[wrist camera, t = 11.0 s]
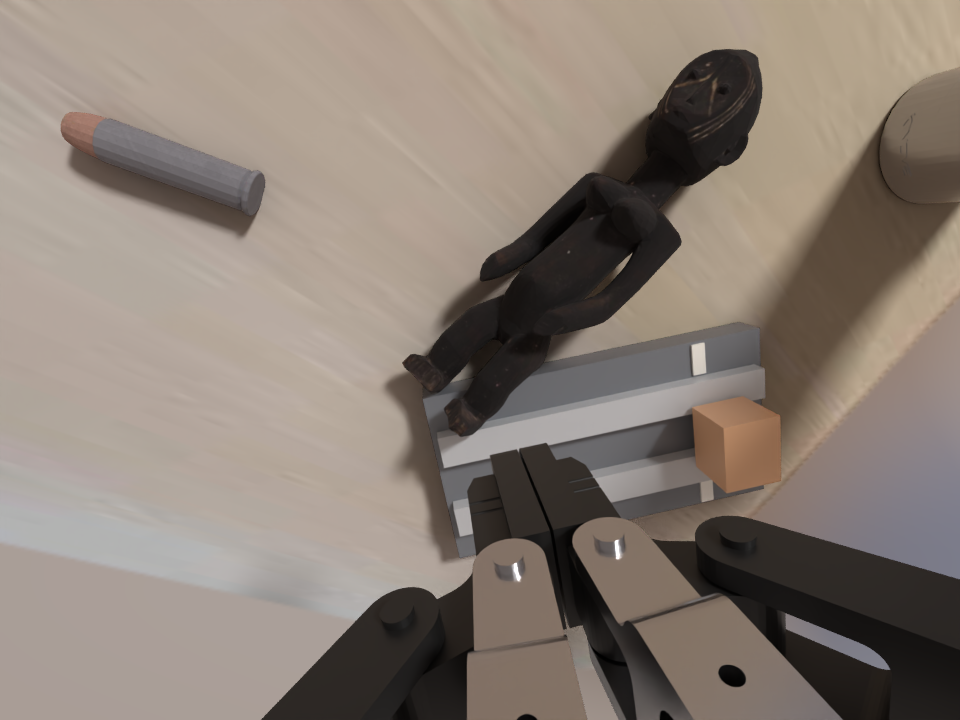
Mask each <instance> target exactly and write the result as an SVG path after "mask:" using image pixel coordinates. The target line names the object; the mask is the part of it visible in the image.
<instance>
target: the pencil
mask: <svg viewBox="0 0 960 720" xmlns="http://www.w3.org/2000/svg"><path fill="white" fill-rule="evenodd" d="M61 133H62V136H63V137H64V139H65V140H66V141H67V142H69V143H70V144H71V145H73V146H74V147H76V148H78V149H79V150H81V151H83V152H85V153H87V154H89V155H91V156H93V157H96V158H98V159H100V160H101V161H103V162H106V163H108V164H111V165H114V166H117V167H120V168H123V169H125V170H128V171H131V172H134V173H137V174H140V175H142V176H145V177H148V178H151V179H154V180H156V181H159V182H162V183H165V184H168V185H171V186H173V187H176V188H179V189H182V190H185V191H187V192H190V193H193V194H196V195H199V196H202V197H204V198H207V199H210V200H213V201H216V202H219V203H221V204H224V205H227V206H230V207H233V208H235V209H238V210H242V211H243V212H244V213H245V214H246V215H248V216H251V215H254V214H255V213H256V212H257V210H258V209H259V207H260V204H261V200H262V196H263V192H264V188H265V178H264V175H263V174H262V173H261V171H258V170H257V171H251V170H248V169H246V168H243V167H240V166H237V165H235V164H232V163H229V162H227V161H224V160H221V159H219V158H216V157H213V156H210V155H208V154H205V153H202V152H200V151H197V150H194V149H192V148H189V147H186V146H183V145H181V144H178V143H175V142H173V141H170V140H167V139H165V138H162V137H159V136H157V135H154V134H151V133H148V132H146V131H143V130H140V129H138V128H135V127H132V126H130V125H127V124H124V123H121V122H119V121H116V120H113V119H107V118H104V117H101V116H97V115H93V114H88V113H80V112H70V113H68V114H66V115H65V116H64V118H63V119H62V122H61Z"/></svg>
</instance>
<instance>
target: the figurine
mask: <svg viewBox="0 0 960 720" xmlns="http://www.w3.org/2000/svg"><path fill="white" fill-rule="evenodd" d="M761 99H762V78H761V72H760V69H759V62H758V57H757V56H756V55H754V54H753V53H751V52H749V51H747V50H733V49H723V50H713V51H710V52H708V53H705V54H702V55H700V56H699V57H697V58H696V59H694V60H693V61H692V62H690V63H689V64H688V65H687V66H686V67H685V68H684V69H683V70H682V71H681V72H680V73H679V75H678V76H677V77H676V79H675V80H674V81H673V83H672V84H671V86H670V87H669V88H668V90H667V91H666V93H665V95H664V97H663V98H662V99H661V100H660V102H659V103H658V106H657V108H656V110H655V111H654V112H653V113H652V114H650V116H649V119H650V120H651V122H650V125H649V127H648V130H647V134H646V140H645V141H646V151H647V155H648V159H647V160H646V161H645V162H644V164H643V165H642V166H641V167H640V168H639V169H638V170H637V171H636V172H635V173H634V175H633V176H632V177H631V178H630V179H629V180H628V182H627V183H624V182H621V181H619V180H616V179H613V178H611V177H607V176H604V175H602V174H599V173H588V174H586V175H585V176H584V177H583V178H581V179H580V180H579V181H578V182H577V183H576V184H575V185H574V186H573V187H572V188H571V189H570V190H569V191H568V192H567V193H566V194H565V195H564V196H563V197H562V198H561V199H559V200H558V201H557V202H556V203H555V204H554V205H553V206H552V207H551V208H550V209H549V210H548V211H547V212H546V213H545V214H544V215H543V216H542V217H541V218H540V219H539V220H538V221H537V222H536V223H535V224H534V225H533V226H532V227H531V228H530V229H529V230H528V231H527V232H525V233H524V234H523V235H522V236H521V237H519V238H518V239H517V240H515V241H514V242H513V243H512V244H510V245H508V246H506V247H504V248H502V249H500V250H498V251H496V252H495V253H493V254H491V255H490V256H489V257H488V258H487V259H486V261H485V262H484V264H483V265H482V268H481V271H480V281H487V280H492V279H495V278H498V277H501V276H503V275H505V274H507V273H510V272H511V271H513V270H515V269H516V268H518V267H519V266H521V265H523V264H524V263H526V262H528V261H530V260H531V261H530V262H529V263H528V264H527V265H526V266H525V267H524V268H523V269H522V270H521V271H520V272H519V274H518V275H517V276H516V277H515V278H514V280H513V281H512V283H511V284H510V286H509V288H508V290H507V291H506V293H505V295H503V296H500V297H497V298H494V299H491V300H488V301H486V302H483V303H480V304H478V305H475V306H473V307H471V308H470V309H469V310H468V311H466V312H465V313H464V314H463V315H462V316H461V317H460V318H458V319H457V320H456V321H455V322H454V323H453V324H452V325H451V326H450V327H449V328H448V329H447V330H446V331H445V332H444V333H443V334H442V335H441V336H440V337H439V339H438V340H437V341H436V343H435V344H434V346H433V348H432V350H431V352H430V354H429V355H428V356H426V357H425V356H421V355H417V354H411V355H410V356H409V357H408V358H407V359H406V360H405V361H404V362H403V363H402V364H403V365H404V367H405V368H406V369H407V370H408V371H409V372H411V373H412V374H413V375H414V377H415V378H416V379H417V380H418V381H419V382H420V383H421V384H422V385H423V386H424V387H425V388H426V389H427V390H428V391H429V392H430V393H432V392H440V391H442V390H443V389H444V388H445V387H446V386H447V385H448V384H449V383H450V382H451V381H452V379H453V378H454V377H455V376H456V375H457V374H459V373H460V372H461V370H462V369H463V368H464V367H465V366H466V364H467V362H468V361H469V359H470V357H471V356H472V355H473V354H474V353H476V352H477V351H478V350H479V349H481V348H482V347H483V346H484V345H485V344H487V343H488V342H489V341H491V340H492V339H495V340H498V341H499V342H500V343H501V344H502V345H503V346H502V347H501V348H500V349H499V350H498V352H497V353H496V354H495V355H494V356H493V357H492V358H491V360H490V361H489V362H488V363H487V364H486V365H485V367H484V368H483V369H482V370H481V371H480V372H479V373H478V374H477V376H476V377H475V379H474V380H473V382H472V384H471V385H470V387H469V389H468V390H467V392H466V393H465V394H464V396H463V397H461V398H456V399H453V400H451V401H450V402H449V403H448V404H447V405H446V406H445V408H444V411H445V413H446V415H447V417H448V426H449V429H450V430H451V431H453V432H455V433H457V434H458V435H459V436H460V437H464V436H469V435H473V434H474V433H475V432H476V431H477V430H479V429H480V428H481V427H482V425H483V424H484V423H485V422H486V421H487V420H488V419H489V418H491V417H492V416H494V415H495V414H496V413H497V412H498V411H499V410H500V409H501V407H502V406H503V405H504V404H505V402H506V400H507V398H508V397H509V395H510V394H511V393H512V392H513V391H514V390H515V389H516V388H517V387H518V386H519V385H520V384H521V383H522V382H523V381H524V380H526V379H527V378H528V377H529V376H530V375H531V374H532V373H533V372H535V371H537V370H538V369H539V368H540V367H541V365H542V363H543V362H544V360H545V357H546V354H547V351H548V347H549V344H550V341H551V335H558V334H563V333H567V332H572V331H576V330H580V329H584V328H588V327H592V326H595V325H598V324H601V323H603V322H605V321H606V320H608V319H609V318H610V317H611V316H612V315H614V314H615V313H616V312H617V311H618V310H619V309H620V308H621V307H622V306H623V305H624V304H625V303H626V302H627V301H628V300H629V299H630V298H631V297H632V296H633V295H634V294H635V293H636V292H638V291H639V290H640V288H641V287H642V286H643V285H644V284H645V283H646V282H647V281H648V280H649V279H650V278H651V277H652V276H653V275H654V274H655V272H656V271H657V270H658V269H659V268H660V267H661V266H662V265H663V264H664V263H665V262H666V261H667V260H668V259H669V257H670V256H671V255H672V254H673V253H674V252H675V251H676V250H677V249H678V248H679V247H680V245H681V242H682V241H681V238H680V235H679V233H678V232H677V231H676V229H675V228H674V227H673V225H672V224H671V223H670V222H669V220H668V219H667V218H666V217H665V216H664V215H663V214H662V212H661V211H660V210H659V208H660V207H661V206H662V205H663V204H664V203H665V202H666V201H667V200H668V199H669V198H670V197H671V195H672V194H673V193H674V192H675V191H676V190H677V189H678V188H679V187H680V186H689V185H693V184H695V183H697V182H699V181H701V180H702V179H703V178H705V177H706V176H707V175H709V174H710V173H711V172H713V171H714V170H715V169H717V168H718V167H719V166H727V165H729V164H732V163H733V162H734V161H736V160H737V159H738V158H739V157H740V156H741V154H742V153H743V151H744V150H745V148H746V146H747V143H748V133H749V131H750V130H751V128H752V126H753V125H754V122H755V120H756V118H757V115H758V113H759V108H760V103H761ZM561 234H562V235H561ZM560 235H561V236H560ZM557 237H558V238H557ZM556 238H557V239H556ZM555 239H556V240H555ZM554 240H555V241H554ZM552 241H554V242H553V243H552V244H551V245H549V244H550V243H551V242H552ZM548 245H549V246H548ZM547 246H548V247H547ZM545 247H547V248H546V249H545V250H543V249H544V248H545ZM542 250H543V251H542ZM541 251H542V252H541ZM540 252H541V253H540ZM539 253H540V254H539ZM631 253H632V255H631V258H630V259H629V261H628V263H627V264H626V266H625V267H624V268H623V270H622V271H621V272H620V273H619V274H618V275H617V276H616V278H615V279H614V280H613V281H612V282H611V283H610V284H609V285H608V286H607V287H606V288H605V289H604V290H603V291H602V292H600V293H599V294H597V295H596V296H595V297H591V298H588V299H585V300H583V299H584V298H585V297H586V296H587V295H588V294H589V293H590V292H591V291H592V290H593V289H594V288H595V287H596V286H597V285H598V284H599V283H600V282H601V281H602V280H603V279H604V278H605V277H606V276H607V275H608V274H609V273H610V272H611V271H612V270H614V269H615V268H616V267H617V266H618V265H619V264H620V263H621V262H622V261H623V260H624V259H625V258H626V257H627V256H629V255H630V254H631ZM537 254H539V255H537ZM536 255H537V256H536ZM535 256H536V257H535ZM534 257H535V258H534ZM533 258H534V259H533Z"/></svg>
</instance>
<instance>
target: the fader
mask: <svg viewBox="0 0 960 720" xmlns="http://www.w3.org/2000/svg"><path fill="white" fill-rule="evenodd" d="M692 414H693V429H694V443H695V458H696V467H697V468H699V469H700V470H701V471H702V472H703V473H704V474H705V475H707V476H708V477H709V478H710V479H711V480H712V481H713V482H714V483H716V484H717V485H718V486H719V487H720V488H721V489H722V490H724V491H725V492H726V493H730V492H735V491H739V490H744V489H748V488H752V487H757V486H761V485H766V484H770V483H774V482H779V481H781V427H780V415H778V414H776V413H774V412H772V411H770V410H769V409H767V408H765V407H763V406H761V405H759V404H757V403H755V402H753V401H751V400H749V399H748V398H746V397H744V396H741V397H736V398H732V399H727V400H723V401H718V402H713V403H709V404H704V405H700V406H695V407H692Z"/></svg>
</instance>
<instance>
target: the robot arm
mask: <svg viewBox="0 0 960 720" xmlns="http://www.w3.org/2000/svg"><path fill="white" fill-rule="evenodd" d="M879 153H880V166H881V170H882V174H883V177H884V179H885V181H886V183H887V184H888V186H889V188H890V189H891V190H892V191H893V192H894V193H895V194H896V195H897V196H899V197H900V198H902V199H904V200H905V201H909V202H912V203H919V204H930V203H948V202H960V67H958V68H955V69H951V70H948V71H945V72H942V73H938V74H935V75H933V76H931V77H928V78H926V79H923V80H922V81H920V82H919V83H917V84H916V85H915V86H913V87H912V88H911V89H910V90H909V91H908V92H907V93H905V94H904V95H903V96H902V97H901V99H900V100H899V101H898V103H897V104H896V106H895V107H894V108H893V110H892V112H891V114H890V116H889V118H888V120H887V122H886V124H885V127H884V130H883V133H882V137H881V143H880V151H879ZM490 461H491V466H492V471H493V474H491V475H486V476H482V477H477V478H473V480H472V482H471V484H470V486H469V488H468V490H467V495H468V502H469V509H470V515H471V522H472V529H473V536H474V543H475V550H476V559H475V560H474V563H473V573H472V574H471V576H470V577H469V578H468V580H467V581H466V582H465V583H463V584H462V585H461V586H460V587H458V588H457V589H456V590H454V591H452V592H450V593H448V594H446V595H445V596H443V597H441V598H439V599H436V598H435V596H434V595H433V594H432V593H430V592H429V591H427V590H425V589H422V588H416V587H408V588H402V589H398V590H395V591H392V592H390V593H388V594H386V595H384V596H382V597H381V598H379V599H378V600H377V601H375V602H374V603H373V604H372V605H371V606H370V607H369V608H368V609H367V610H366V611H365V612H364V613H363V614H362V615H361V616H360V617H359V618H358V619H357V620H356V621H355V623H354V624H353V625H352V626H351V627H350V628H349V629H348V630H347V631H346V632H345V633H344V634H343V635H342V636H341V637H340V638H339V639H338V640H337V641H336V642H335V643H334V644H333V645H332V647H331V648H330V649H329V650H328V651H327V652H326V653H325V654H324V655H323V656H322V657H321V658H320V659H319V660H318V661H317V662H316V663H315V664H314V665H313V666H312V668H310V669H309V671H307V673H306V674H305V675H304V676H303V677H302V678H301V679H300V680H299V681H298V682H297V683H296V684H295V685H294V686H293V687H292V688H291V689H290V690H289V691H288V692H287V693H286V695H285V696H284V697H283V698H282V699H281V700H280V701H279V702H278V703H277V704H276V705H275V706H274V707H273V708H272V709H271V710H270V711H269V712H268V713H267V714H266V715H265V716H264V718H262V720H587V716H586V712H585V708H584V704H583V700H582V696H581V692H580V687H579V683H578V680H577V675H576V671H575V667H574V663H573V659H572V655H571V651H570V647H569V643H568V639H567V636H566V635H564V631H563V630H564V629H566V623H565V617H564V613H565V616H566V619H567V622H568V625H569V627H570V628H572V627H576V626H580V625H583V628H584V630H585V633H586V635H587V639H588V646H589V652H590V658H591V661H592V664H593V666H594V668H595V670H596V673H597V675H598V677H599V679H600V681H601V683H602V685H603V687H604V689H605V692H606V694H607V696H608V698H609V700H610V702H611V704H612V706H613V709H614V711H615V713H616V715H617V717H618V719H619V720H960V579H956V578H953V577H949V576H946V575H942V574H939V573H935V572H932V571H929V570H925V569H922V568H918V567H915V566H911V565H908V564H905V563H901V562H898V561H894V560H890V559H887V558H884V557H880V556H877V555H874V554H870V553H866V552H863V551H860V550H856V549H852V548H849V547H846V546H843V545H839V544H835V543H832V542H829V541H825V540H822V539H819V538H815V537H811V536H808V535H805V534H801V533H798V532H794V531H791V530H788V529H784V528H780V527H777V526H774V525H770V524H767V523H764V522H760V521H757V520H753V519H749V518H745V517H739V516H721V517H715V518H711V519H709V520H707V521H705V522H703V523H702V524H701V525H700V526H699V527H698V528H697V530H696V533H695V541H660V540H654V539H651V538H650V537H649V536H648V535H647V534H646V532H645V531H644V530H643V529H642V528H641V527H640V526H638V525H637V524H635V523H633V522H631V521H629V520H626V519H622V518H621V517H620V515H619V514H618V512H617V511H616V509H615V508H614V506H613V505H612V503H611V502H610V500H609V499H608V497H607V496H606V495H605V493H604V492H603V490H602V489H601V487H599V484H598V483H597V481H596V480H595V478H593V475H592V474H591V472H590V471H589V469H588V468H587V466H586V465H585V464H583V463H582V462H580V461H578V460H576V459H574V458H572V457H568V458H563V459H559V460H556V459H555V457H554V455H553V453H552V451H551V450H550V448H549V446H548V444H547V443H542V444H538V445H533V446H528V447H524V448H519V453H518V450H517V449H515V450H511V451H506V452H501V453H497V454H492V455H490ZM563 610H564V611H563ZM785 613H787V614H790V615H792V616H794V617H797V618H799V619H802V620H804V621H807V622H809V623H812V624H814V625H817V626H819V627H822V628H824V629H827V630H829V631H832V632H834V633H837V634H839V635H842V636H844V637H846V638H849V639H852V640H854V641H857V642H859V643H861V644H863V645H865V646H867V647H869V648H871V649H872V650H874V651H875V652H876V653H878V654H879V655H880V656H881V657H882V658H883V659H884V660H885V661H886V663H887V664H888V666H889V668H890V670H884V669H879V668H876V667H874V666H871V665H869V664H867V663H864V662H861V661H859V660H857V659H855V658H852V657H850V656H848V655H845V654H843V653H840V652H838V651H836V650H833V649H831V648H829V647H826V646H824V645H822V644H819V643H817V642H815V641H812V640H810V639H807V638H805V637H803V636H800V635H798V634H796V633H793V632H791V631H788V630H786V627H785V626H786V623H785Z"/></svg>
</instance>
